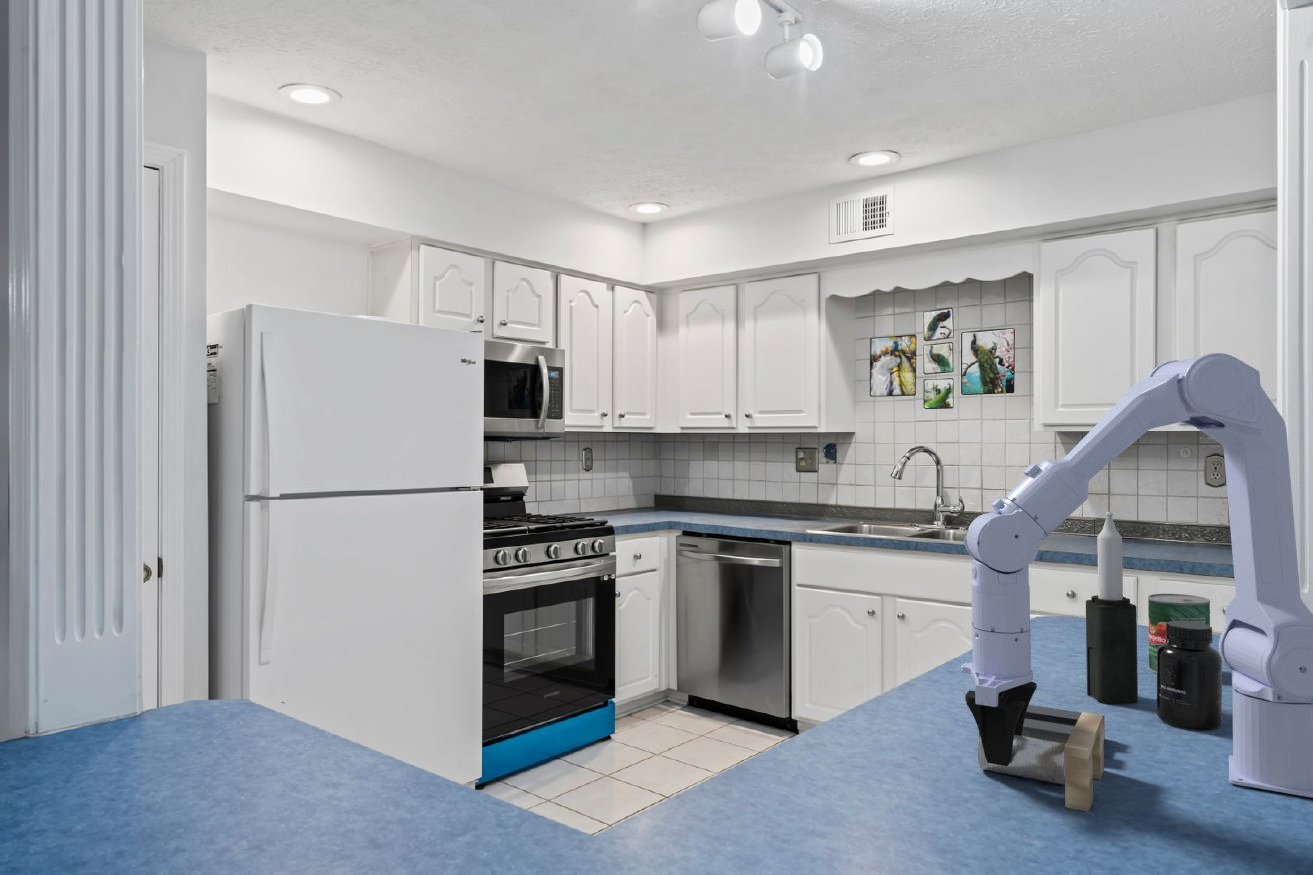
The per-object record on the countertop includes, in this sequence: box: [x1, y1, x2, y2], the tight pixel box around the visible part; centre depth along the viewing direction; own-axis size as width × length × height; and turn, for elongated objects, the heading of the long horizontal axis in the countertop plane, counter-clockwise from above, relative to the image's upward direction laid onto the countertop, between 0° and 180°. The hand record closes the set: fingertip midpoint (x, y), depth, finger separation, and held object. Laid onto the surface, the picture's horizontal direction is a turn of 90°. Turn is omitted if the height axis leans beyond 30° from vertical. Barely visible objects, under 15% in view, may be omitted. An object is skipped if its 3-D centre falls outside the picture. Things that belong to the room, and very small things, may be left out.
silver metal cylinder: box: [977, 735, 1066, 786], centre depth 90 cm, size 8×4×4 cm, turn 57°
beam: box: [1064, 711, 1105, 813], centre depth 87 cm, size 2×12×6 cm, turn 147°
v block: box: [978, 704, 1106, 743], centre depth 100 cm, size 12×9×3 cm
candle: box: [1085, 511, 1139, 705], centre depth 116 cm, size 5×5×25 cm
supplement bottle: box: [1156, 621, 1223, 732], centre depth 106 cm, size 7×7×12 cm
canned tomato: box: [1147, 593, 1211, 675], centre depth 128 cm, size 8×8×11 cm
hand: (1002, 756), depth 91 cm, fingers closed on silver metal cylinder, 4 cm apart
